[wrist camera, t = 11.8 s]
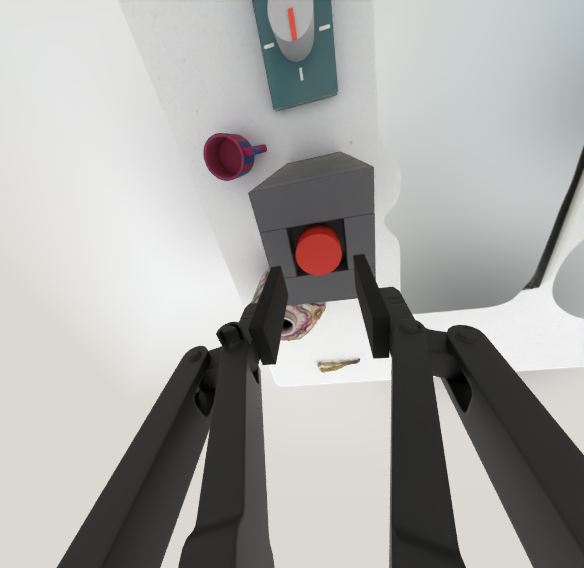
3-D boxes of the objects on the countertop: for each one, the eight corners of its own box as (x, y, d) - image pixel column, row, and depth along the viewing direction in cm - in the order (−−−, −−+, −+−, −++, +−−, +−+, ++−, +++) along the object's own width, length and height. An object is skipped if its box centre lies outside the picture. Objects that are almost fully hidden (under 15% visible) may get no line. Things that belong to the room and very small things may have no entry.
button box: (286, 163, 42) (247, 192, 19) (341, 151, 40) (373, 166, 17) (298, 226, 48) (280, 306, 25) (346, 217, 47) (376, 296, 23)
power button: (293, 228, 21) (291, 238, 19) (337, 221, 20) (339, 230, 18) (301, 266, 23) (300, 278, 21) (341, 260, 22) (343, 272, 20)
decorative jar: (285, 244, 51) (272, 288, 36) (326, 272, 54) (329, 324, 39) (259, 280, 57) (237, 330, 42) (296, 303, 60) (289, 359, 44)
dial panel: (252, -14, 31) (246, -28, 28) (325, -42, 29) (326, -60, 27) (276, 111, 38) (273, 109, 36) (336, 95, 36) (337, 91, 34)
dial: (274, 17, 30) (261, -20, 23) (311, 4, 29) (308, -39, 22) (282, 66, 33) (273, 46, 26) (316, 55, 32) (316, 32, 25)
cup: (214, 136, 41) (198, 135, 35) (268, 130, 40) (260, 128, 34) (223, 176, 45) (210, 182, 39) (273, 172, 43) (267, 177, 38)
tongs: (360, 361, 69) (361, 366, 67) (321, 368, 73) (321, 374, 72) (356, 352, 67) (357, 357, 65) (316, 360, 72) (315, 366, 70)
